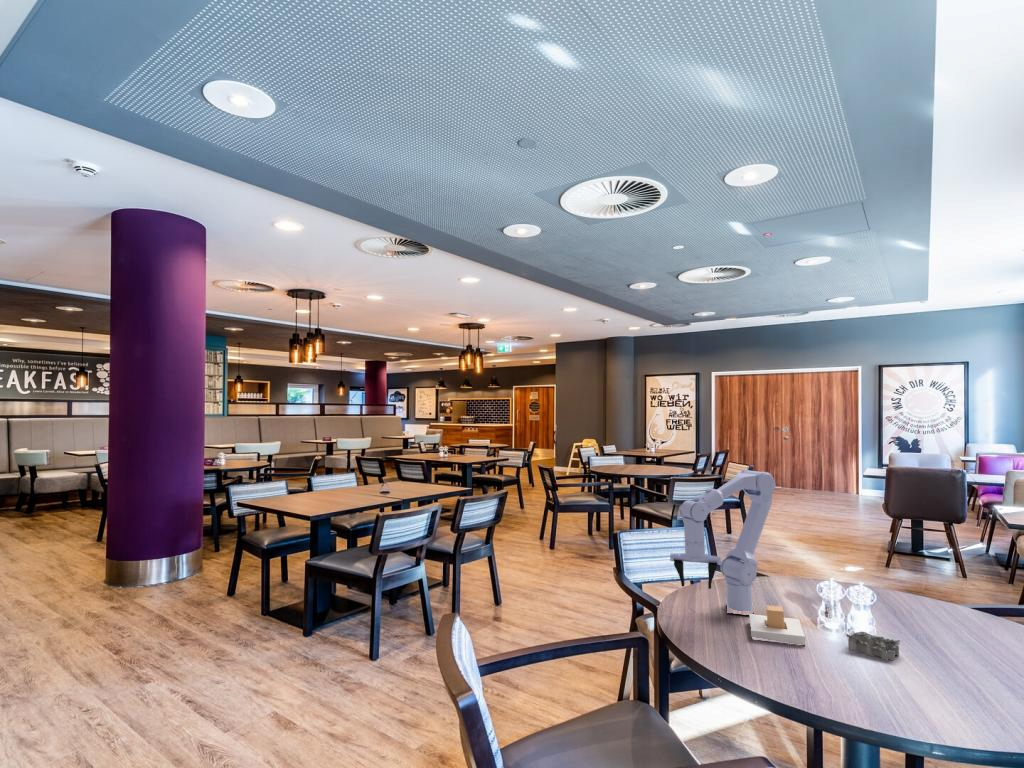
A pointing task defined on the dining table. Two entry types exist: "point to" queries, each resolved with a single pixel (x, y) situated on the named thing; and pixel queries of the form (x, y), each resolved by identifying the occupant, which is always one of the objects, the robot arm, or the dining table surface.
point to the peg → (775, 617)
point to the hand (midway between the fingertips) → (696, 586)
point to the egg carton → (873, 645)
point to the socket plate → (777, 630)
